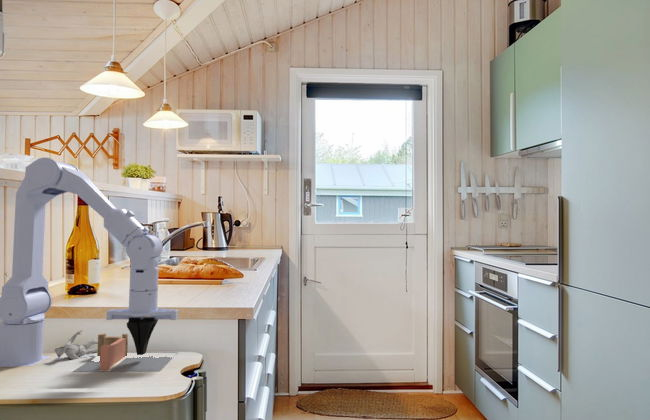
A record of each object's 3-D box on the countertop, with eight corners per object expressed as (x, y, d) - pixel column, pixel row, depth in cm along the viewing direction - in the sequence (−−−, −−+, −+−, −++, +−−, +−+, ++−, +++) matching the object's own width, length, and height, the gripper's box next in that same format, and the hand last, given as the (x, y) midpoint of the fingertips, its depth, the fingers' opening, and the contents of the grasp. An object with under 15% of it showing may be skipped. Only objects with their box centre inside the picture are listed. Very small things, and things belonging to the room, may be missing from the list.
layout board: (72, 374, 87) (72, 371, 88) (102, 355, 101) (102, 352, 101) (160, 374, 89) (160, 370, 89) (178, 354, 103) (178, 351, 103)
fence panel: (119, 356, 98) (120, 335, 98) (126, 356, 98) (126, 335, 98) (99, 369, 88) (100, 346, 89) (107, 369, 88) (107, 346, 89)
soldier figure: (115, 357, 104) (79, 353, 93) (99, 371, 103) (60, 369, 92) (102, 331, 107) (65, 325, 96) (85, 344, 107) (47, 340, 96)
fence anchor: (97, 356, 98) (98, 334, 98) (99, 355, 99) (100, 333, 99) (126, 356, 98) (126, 334, 99) (128, 355, 100) (128, 333, 100)
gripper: (101, 292, 92) (98, 358, 91) (172, 292, 93) (170, 358, 92) (114, 287, 99) (112, 349, 98) (181, 288, 100) (179, 349, 99)
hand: (141, 353), depth 95 cm, fingers closed
